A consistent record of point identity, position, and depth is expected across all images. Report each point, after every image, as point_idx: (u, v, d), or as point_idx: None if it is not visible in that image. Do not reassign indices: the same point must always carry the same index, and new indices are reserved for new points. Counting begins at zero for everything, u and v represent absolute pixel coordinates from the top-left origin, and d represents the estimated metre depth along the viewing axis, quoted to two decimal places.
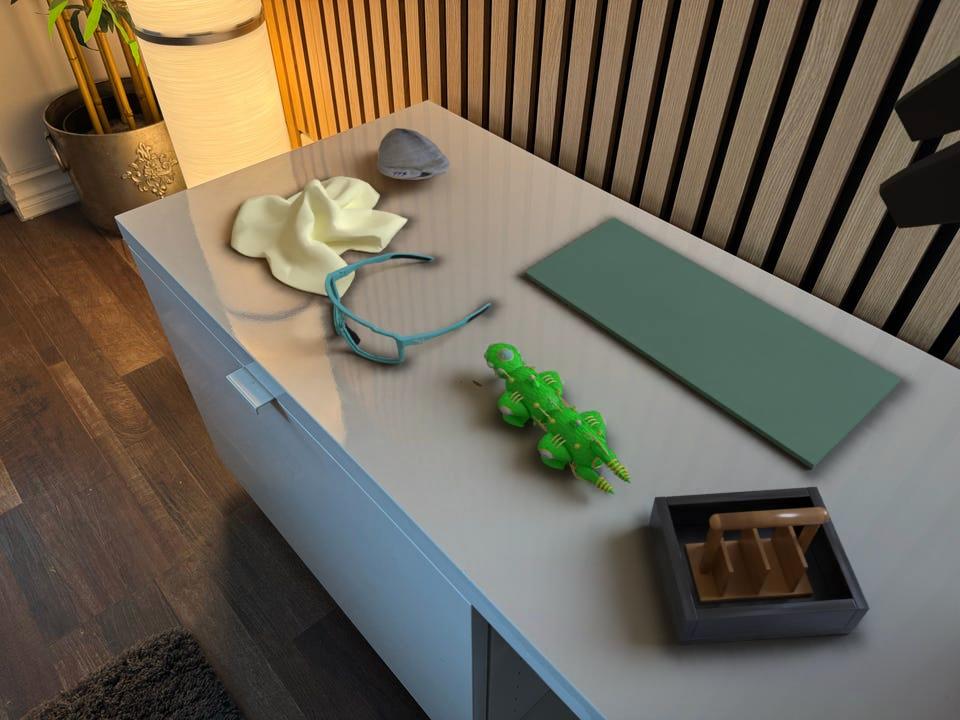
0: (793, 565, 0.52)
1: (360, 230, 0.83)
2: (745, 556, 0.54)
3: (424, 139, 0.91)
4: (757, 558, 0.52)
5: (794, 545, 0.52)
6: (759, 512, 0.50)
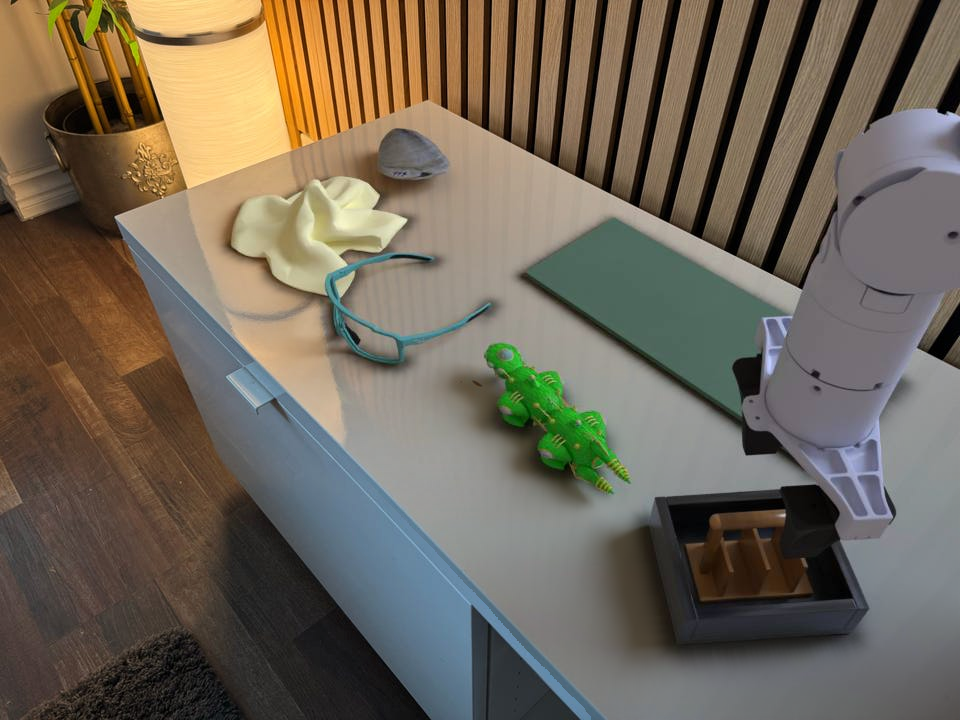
0: (793, 565, 0.52)
1: (360, 230, 0.83)
2: (745, 556, 0.54)
3: (424, 139, 0.91)
4: (757, 558, 0.52)
5: None
6: (759, 512, 0.50)
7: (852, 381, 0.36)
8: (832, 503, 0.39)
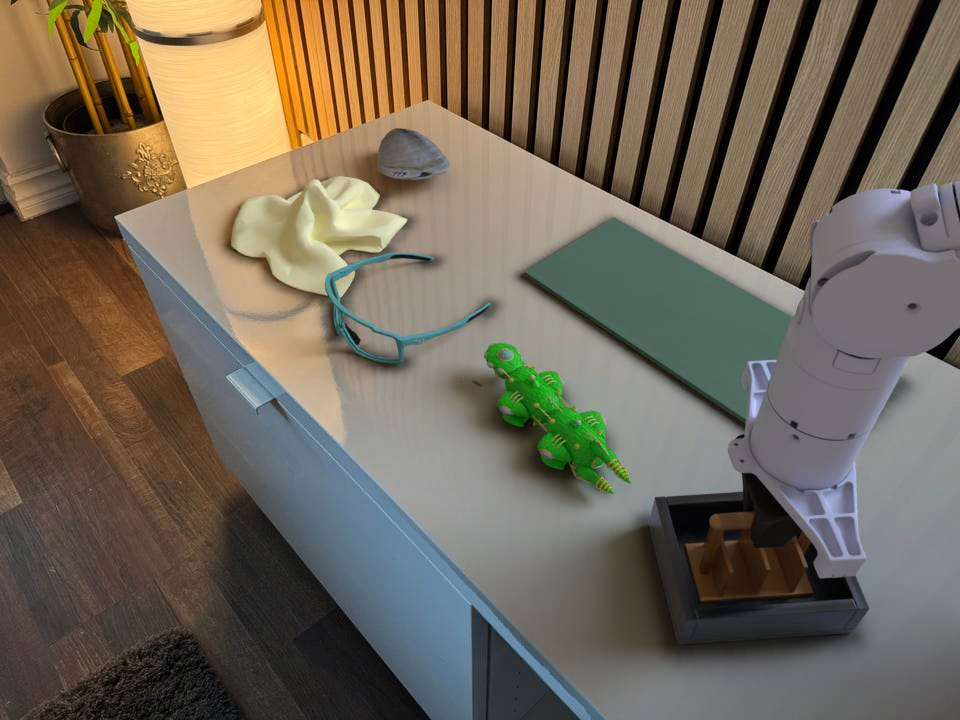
0: (793, 565, 0.52)
1: (360, 230, 0.83)
2: (745, 556, 0.54)
3: (424, 139, 0.91)
4: (757, 558, 0.52)
5: (794, 545, 0.52)
6: None
7: (827, 432, 0.39)
8: None
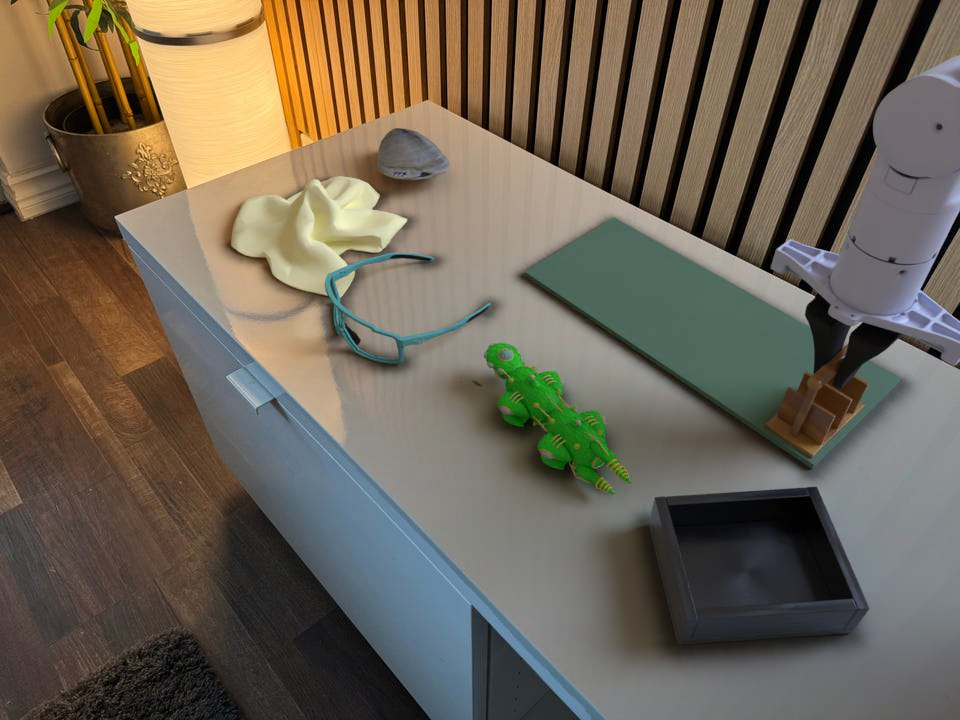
0: (851, 390, 0.63)
1: (360, 230, 0.83)
2: None
3: (424, 139, 0.91)
4: (832, 399, 0.62)
5: None
6: (833, 359, 0.59)
7: (873, 248, 0.49)
8: None
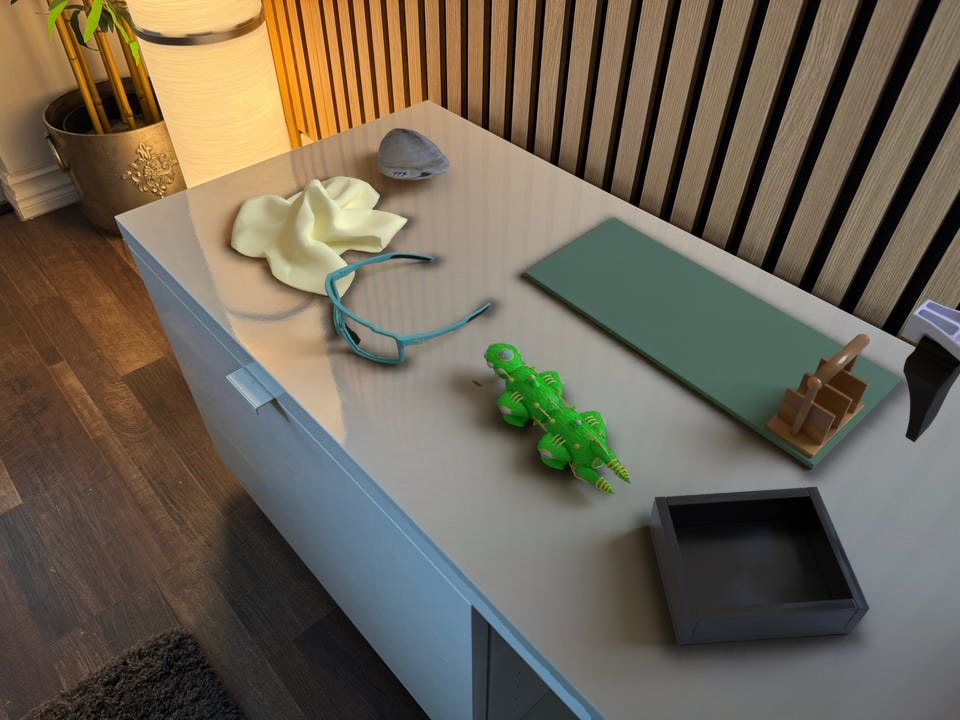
0: (851, 390, 0.63)
1: (360, 230, 0.83)
2: None
3: (424, 139, 0.91)
4: (832, 399, 0.62)
5: (847, 374, 0.63)
6: (833, 359, 0.59)
7: None
8: None
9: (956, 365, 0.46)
